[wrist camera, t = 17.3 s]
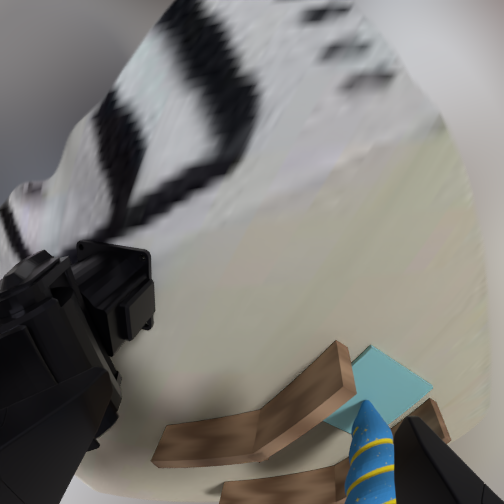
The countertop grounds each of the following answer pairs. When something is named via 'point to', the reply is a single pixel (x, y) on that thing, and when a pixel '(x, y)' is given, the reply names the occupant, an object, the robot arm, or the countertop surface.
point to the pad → (380, 389)
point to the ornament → (370, 460)
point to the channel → (279, 436)
